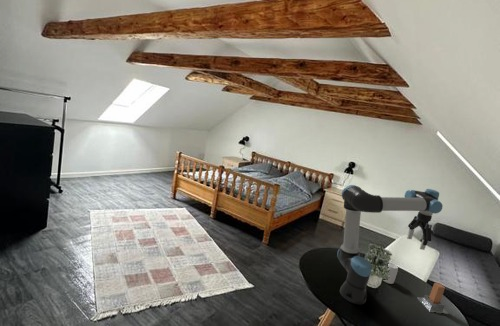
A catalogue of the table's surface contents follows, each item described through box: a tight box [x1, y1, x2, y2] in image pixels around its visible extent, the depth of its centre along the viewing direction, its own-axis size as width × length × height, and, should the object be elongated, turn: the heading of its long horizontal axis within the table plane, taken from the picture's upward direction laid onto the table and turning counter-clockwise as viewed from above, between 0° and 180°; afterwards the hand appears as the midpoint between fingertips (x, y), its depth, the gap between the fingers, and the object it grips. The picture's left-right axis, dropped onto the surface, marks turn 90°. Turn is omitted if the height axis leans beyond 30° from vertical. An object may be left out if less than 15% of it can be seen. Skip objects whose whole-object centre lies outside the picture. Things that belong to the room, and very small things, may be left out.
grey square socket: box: [416, 294, 449, 315], centre depth 173 cm, size 12×12×4 cm
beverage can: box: [382, 262, 399, 285], centre depth 192 cm, size 8×8×12 cm
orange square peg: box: [429, 282, 446, 303], centre depth 172 cm, size 4×4×14 cm
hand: (415, 243), depth 181 cm, fingers open, 13 cm apart
